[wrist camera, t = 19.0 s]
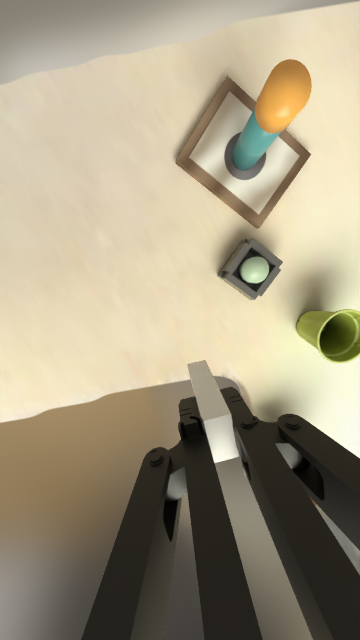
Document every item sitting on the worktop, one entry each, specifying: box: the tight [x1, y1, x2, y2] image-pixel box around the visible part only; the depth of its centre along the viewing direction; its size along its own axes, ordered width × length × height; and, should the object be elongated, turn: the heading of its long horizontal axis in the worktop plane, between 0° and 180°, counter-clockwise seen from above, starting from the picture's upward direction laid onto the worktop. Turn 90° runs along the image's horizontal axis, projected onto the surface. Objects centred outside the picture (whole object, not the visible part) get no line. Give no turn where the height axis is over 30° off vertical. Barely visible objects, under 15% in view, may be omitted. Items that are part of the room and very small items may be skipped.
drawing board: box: [176, 76, 311, 228], centre depth 35 cm, size 18×14×2 cm
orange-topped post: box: [232, 59, 311, 171], centre depth 28 cm, size 5×5×13 cm
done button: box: [238, 257, 269, 283], centre depth 37 cm, size 4×4×3 cm
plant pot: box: [297, 309, 360, 363], centre depth 39 cm, size 9×9×9 cm
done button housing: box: [218, 239, 283, 300], centre depth 38 cm, size 8×8×4 cm
